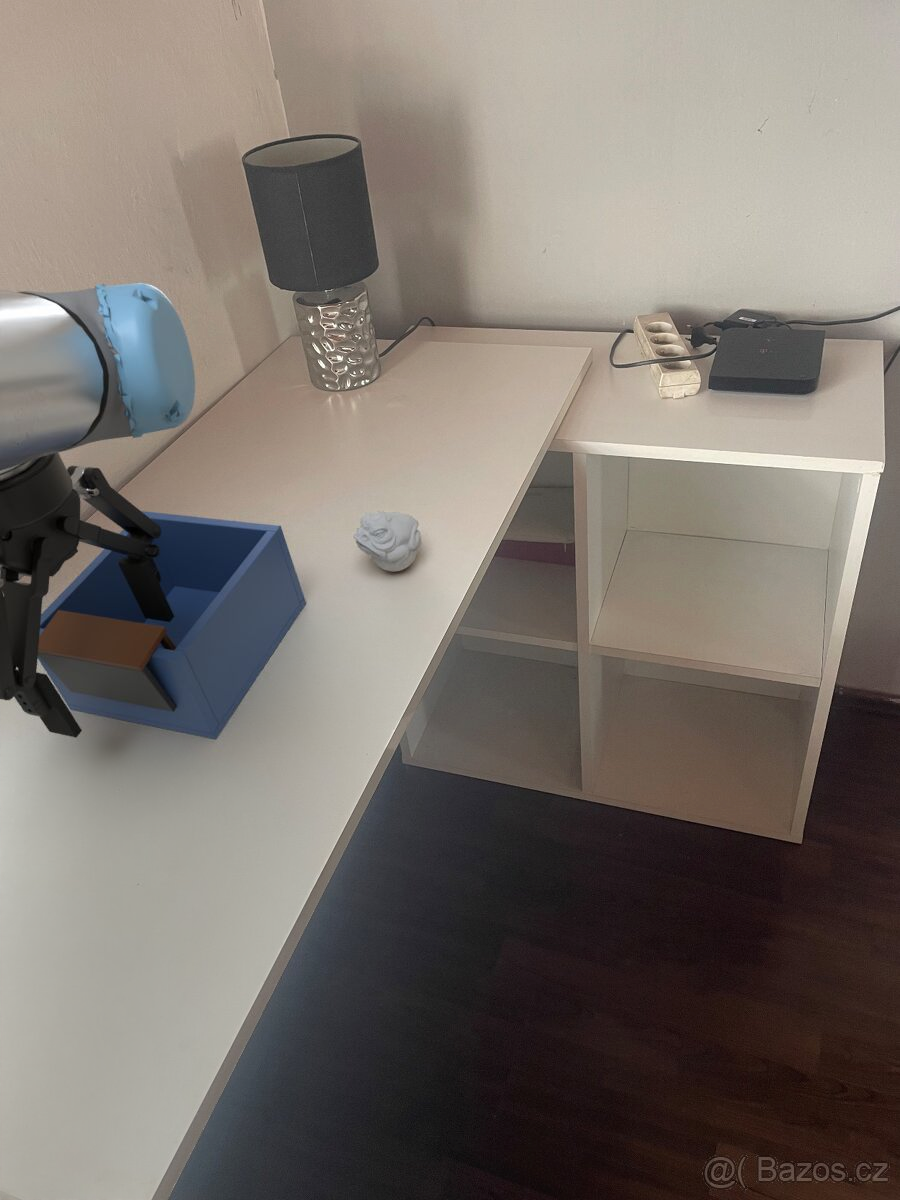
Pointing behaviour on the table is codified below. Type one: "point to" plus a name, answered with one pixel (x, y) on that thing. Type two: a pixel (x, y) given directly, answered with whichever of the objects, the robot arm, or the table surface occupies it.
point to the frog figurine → (389, 539)
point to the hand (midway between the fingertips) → (116, 671)
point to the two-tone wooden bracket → (105, 657)
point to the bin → (195, 617)
